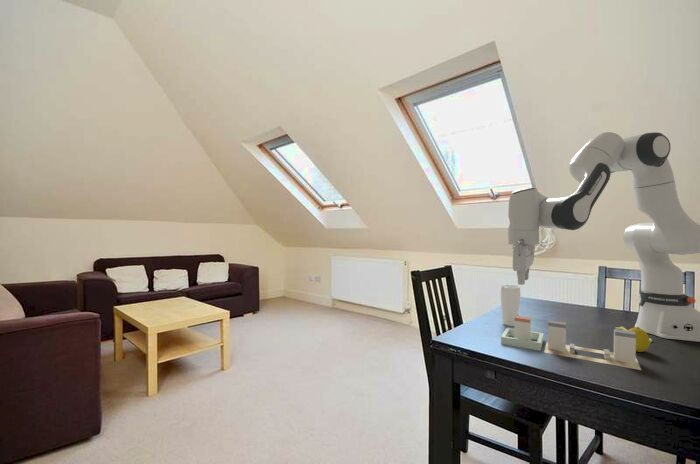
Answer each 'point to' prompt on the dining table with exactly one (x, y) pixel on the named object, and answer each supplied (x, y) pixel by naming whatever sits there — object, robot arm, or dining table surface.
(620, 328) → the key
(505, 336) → the tray
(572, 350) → the clip jaws
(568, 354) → the holder board
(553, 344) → the block
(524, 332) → the marked fuse
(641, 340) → the lemon
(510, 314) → the drinking glass
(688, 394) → the dining table surface
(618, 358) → the fuse
